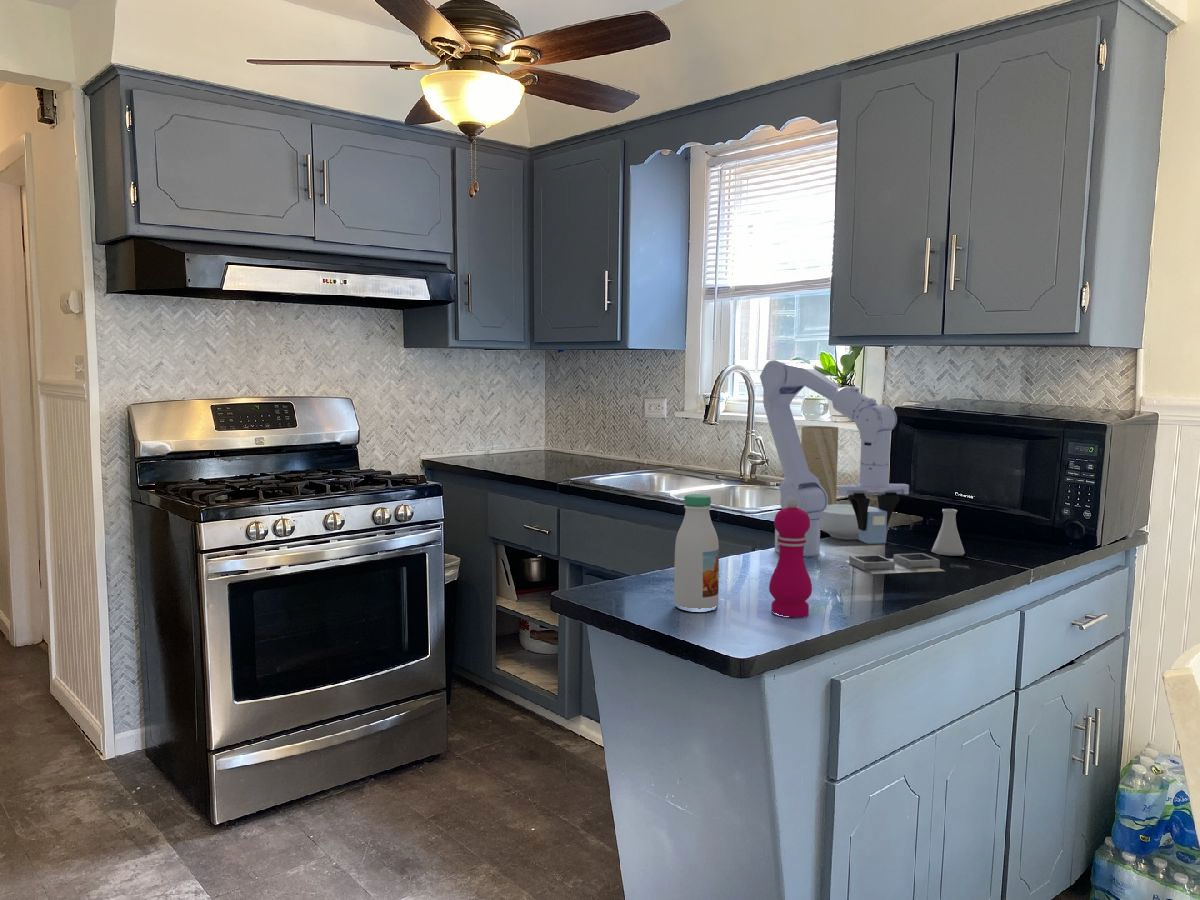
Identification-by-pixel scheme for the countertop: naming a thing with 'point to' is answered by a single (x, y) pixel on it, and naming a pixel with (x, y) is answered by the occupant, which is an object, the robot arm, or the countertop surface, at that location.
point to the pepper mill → (791, 563)
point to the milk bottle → (696, 556)
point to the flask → (948, 536)
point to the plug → (875, 527)
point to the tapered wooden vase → (822, 456)
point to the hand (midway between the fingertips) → (872, 529)
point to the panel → (896, 563)
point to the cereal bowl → (840, 522)
